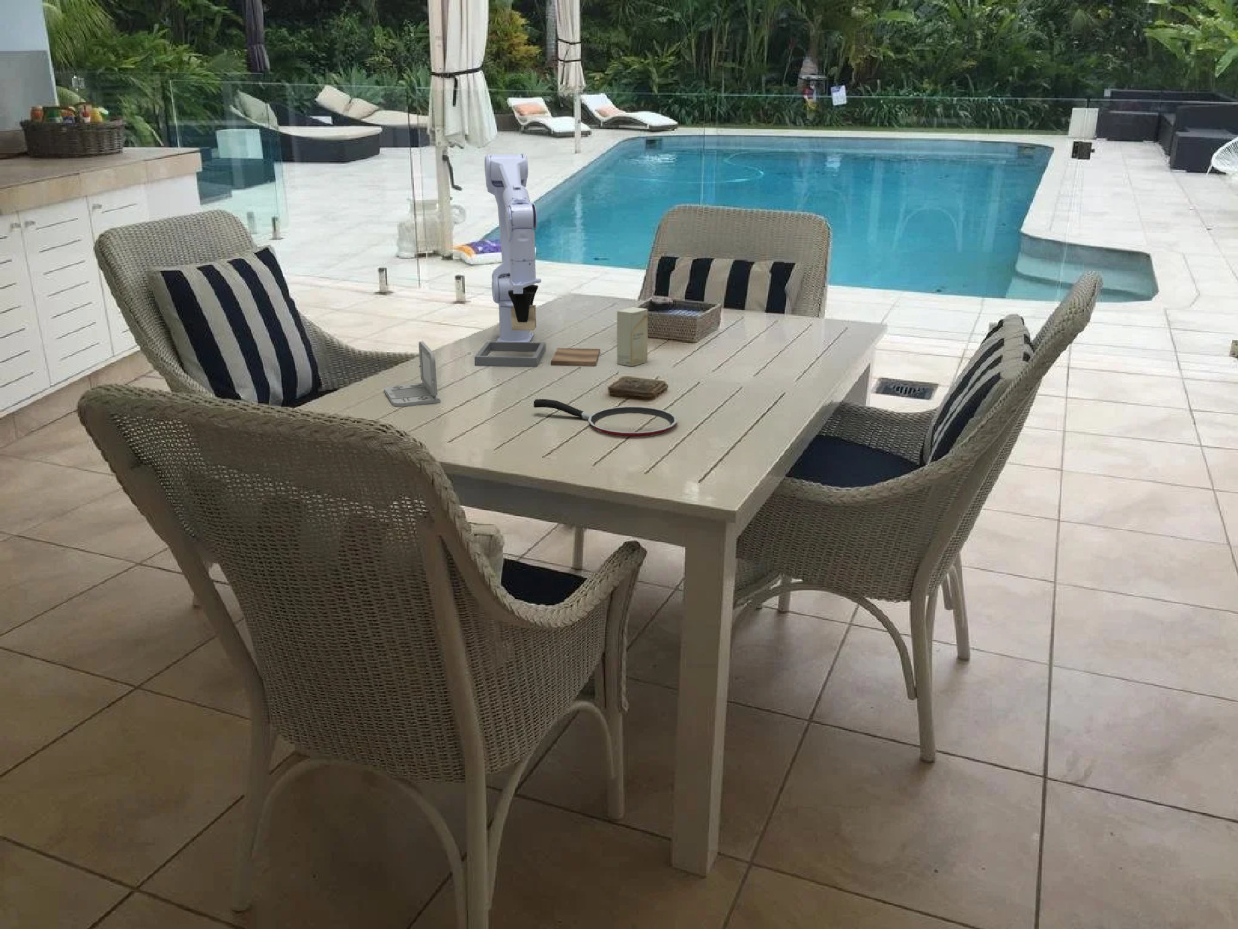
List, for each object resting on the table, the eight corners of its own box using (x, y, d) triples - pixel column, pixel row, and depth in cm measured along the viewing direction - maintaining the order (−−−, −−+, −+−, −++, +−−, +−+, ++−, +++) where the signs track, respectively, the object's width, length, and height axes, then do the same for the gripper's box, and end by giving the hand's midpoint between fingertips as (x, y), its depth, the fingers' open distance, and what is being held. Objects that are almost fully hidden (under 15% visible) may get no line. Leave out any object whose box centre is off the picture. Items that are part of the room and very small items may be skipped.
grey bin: (487, 349, 250) (486, 341, 249) (545, 350, 249) (545, 342, 248) (474, 365, 236) (474, 356, 235) (536, 366, 235) (536, 357, 234)
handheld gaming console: (383, 390, 217) (379, 343, 214) (427, 386, 220) (424, 339, 217) (394, 408, 206) (390, 358, 202) (440, 403, 209) (437, 353, 205)
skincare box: (631, 367, 235) (632, 313, 231) (615, 364, 237) (615, 310, 233) (648, 361, 240) (648, 308, 235) (632, 358, 242) (632, 306, 238)
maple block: (514, 326, 242) (513, 304, 240) (536, 326, 242) (535, 304, 240) (511, 330, 238) (510, 307, 237) (533, 330, 238) (533, 308, 236)
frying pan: (516, 428, 194) (516, 410, 193) (550, 404, 209) (549, 387, 208) (662, 443, 186) (662, 425, 185) (686, 417, 201) (687, 400, 200)
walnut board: (557, 352, 248) (557, 348, 247) (600, 353, 247) (600, 348, 247) (551, 365, 236) (551, 360, 236) (595, 366, 236) (595, 361, 235)
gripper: (535, 264, 228) (536, 326, 232) (544, 254, 241) (546, 313, 246) (502, 264, 228) (505, 326, 233) (514, 254, 242) (516, 312, 246)
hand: (524, 319), depth 239 cm, fingers closed on maple block, 4 cm apart
